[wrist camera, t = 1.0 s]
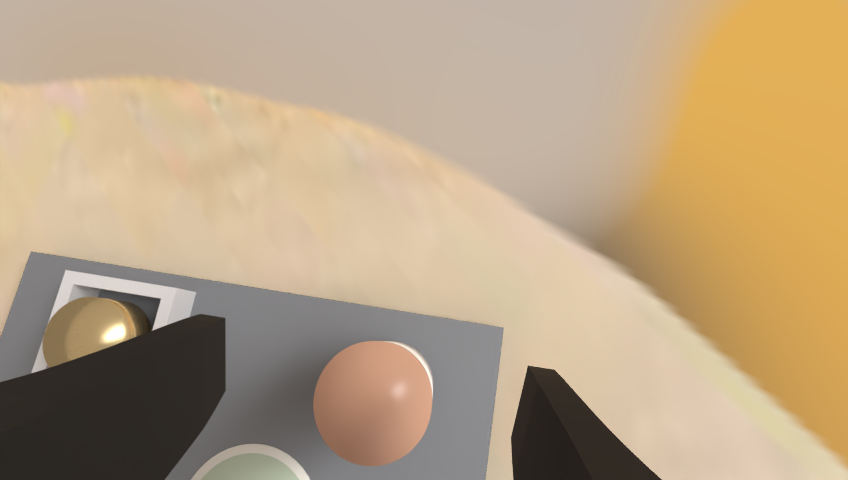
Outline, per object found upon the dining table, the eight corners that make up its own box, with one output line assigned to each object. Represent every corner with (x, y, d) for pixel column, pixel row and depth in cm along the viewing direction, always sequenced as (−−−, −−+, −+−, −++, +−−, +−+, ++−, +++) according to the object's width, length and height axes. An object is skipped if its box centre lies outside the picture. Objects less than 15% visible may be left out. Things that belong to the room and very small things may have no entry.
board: (462, 637, 21) (466, 686, 18) (-47, 534, 22) (-119, 563, 19) (500, 328, 24) (509, 326, 21) (49, 255, 25) (-1, 244, 22)
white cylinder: (426, 434, 22) (421, 476, 15) (343, 419, 22) (302, 454, 15) (439, 348, 22) (440, 350, 16) (359, 335, 23) (326, 332, 16)
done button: (139, 383, 22) (109, 386, 20) (67, 370, 22) (30, 373, 20) (160, 307, 22) (134, 303, 20) (91, 295, 22) (58, 290, 21)
